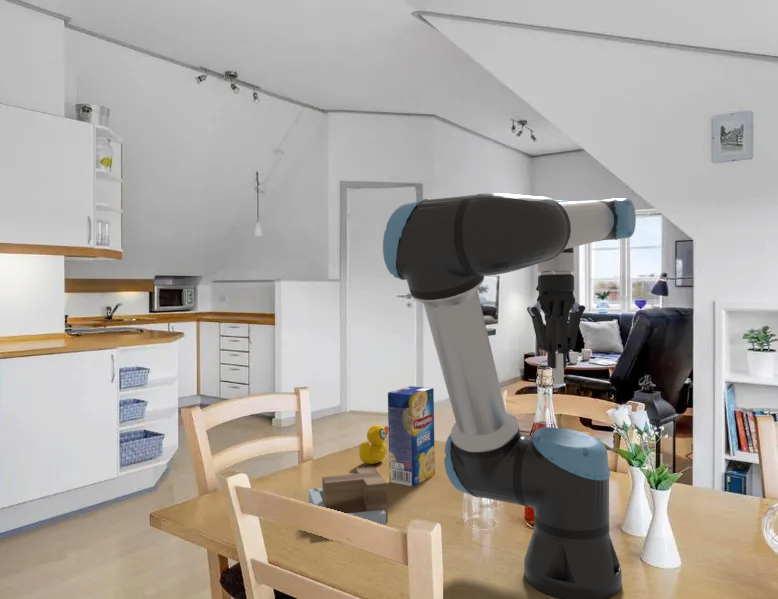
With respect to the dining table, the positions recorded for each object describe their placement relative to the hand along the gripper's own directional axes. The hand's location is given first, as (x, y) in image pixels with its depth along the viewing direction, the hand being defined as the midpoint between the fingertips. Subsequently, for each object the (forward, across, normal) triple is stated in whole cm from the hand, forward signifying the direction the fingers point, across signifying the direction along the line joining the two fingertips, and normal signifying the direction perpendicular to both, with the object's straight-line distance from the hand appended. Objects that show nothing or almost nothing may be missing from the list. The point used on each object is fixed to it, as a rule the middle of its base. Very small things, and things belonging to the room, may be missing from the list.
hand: (557, 383), depth 130 cm
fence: (+26, +45, -8) cm, 53 cm away
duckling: (+27, +31, -43) cm, 59 cm away
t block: (+26, +44, -7) cm, 52 cm away
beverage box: (+27, +25, -27) cm, 45 cm away
